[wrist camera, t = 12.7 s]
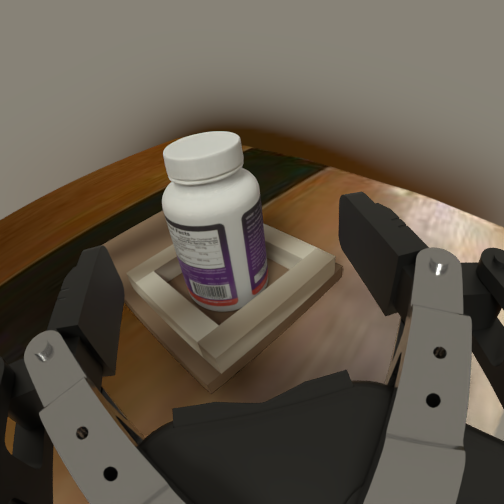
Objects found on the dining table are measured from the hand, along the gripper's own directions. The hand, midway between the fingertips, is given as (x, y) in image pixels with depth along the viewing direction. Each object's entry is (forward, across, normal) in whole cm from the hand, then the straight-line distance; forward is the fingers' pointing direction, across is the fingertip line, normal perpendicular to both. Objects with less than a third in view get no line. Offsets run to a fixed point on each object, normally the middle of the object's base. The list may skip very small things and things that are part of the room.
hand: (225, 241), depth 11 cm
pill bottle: (+7, 0, +9) cm, 11 cm away
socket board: (+11, +3, +9) cm, 15 cm away
